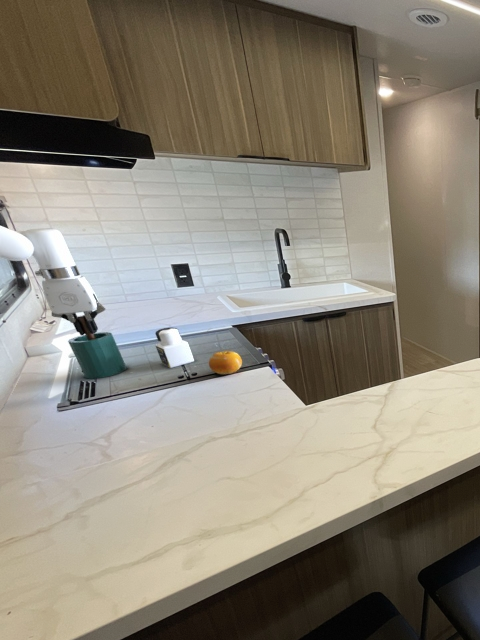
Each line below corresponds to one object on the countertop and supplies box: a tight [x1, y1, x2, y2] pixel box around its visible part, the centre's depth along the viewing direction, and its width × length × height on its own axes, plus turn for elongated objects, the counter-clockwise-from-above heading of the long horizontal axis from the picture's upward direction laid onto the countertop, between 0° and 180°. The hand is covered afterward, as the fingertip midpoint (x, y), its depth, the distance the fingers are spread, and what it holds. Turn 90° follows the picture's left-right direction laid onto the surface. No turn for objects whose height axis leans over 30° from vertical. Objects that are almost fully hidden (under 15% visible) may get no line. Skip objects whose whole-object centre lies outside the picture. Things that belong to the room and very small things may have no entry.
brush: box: [77, 314, 96, 340], centre depth 126 cm, size 4×4×14 cm
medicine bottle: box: [154, 326, 195, 369], centre depth 135 cm, size 7×7×12 cm
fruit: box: [208, 350, 243, 375], centre depth 127 cm, size 8×8×8 cm
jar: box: [67, 331, 127, 379], centre depth 128 cm, size 10×10×12 cm
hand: (88, 332), depth 125 cm, fingers closed on brush
